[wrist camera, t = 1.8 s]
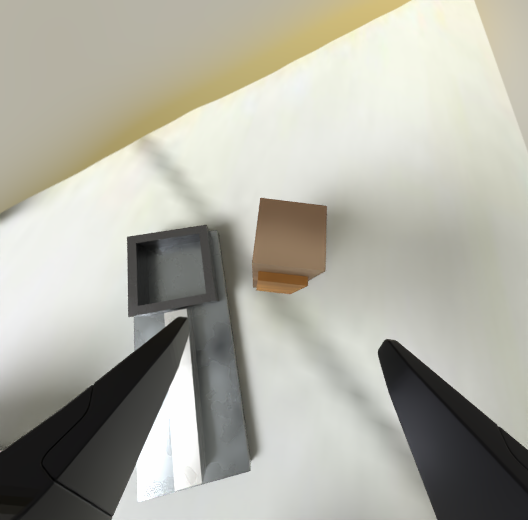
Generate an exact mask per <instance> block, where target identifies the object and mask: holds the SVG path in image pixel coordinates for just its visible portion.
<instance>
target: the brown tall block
mask: <svg viewBox="0 0 528 520" xmlns="http://www.w3.org/2000/svg"><path fill="white" fill-rule="evenodd" d="M326 220H327V206H322V205H314V204H306V203H298V202H290V201H282V200H274V199H266V198H260V205H259V213H258V221H257V228H256V236H255V244H254V252H253V260H252V272H253V287H255V288H257V289H256V290H258V291H267V292H276V293H285V294H292V293H294V292H296V291H298V290H300V289H302V288H304V287H306V286H308V281H309V280H310V279H312V278H314V277H316V276H318V275H319V274H321V273H323V272H325V262H326Z"/></svg>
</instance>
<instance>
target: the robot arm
mask: <svg viewBox="0 0 528 520" xmlns="http://www.w3.org/2000/svg"><path fill="white" fill-rule="evenodd" d="M189 333H190V327H189V319H188V318H187V317H181V316H179V317H177V318H176V319H174V320H173V321H172V322H171V323H169V324H168V325H167V326H166V327H164V328H163V329H162V330H161V331H159V332H158V333H157V334H156V335H154V336H153V337H152V338H151V339H149V340H148V341H147V342H145V343H144V344H143V345H142V346H140V347H139V348H138V349H137V350H135V351H134V352H133V353H132V354H130V355H129V356H128V357H127V358H125V359H124V360H123V361H122V362H120V363H119V364H118V365H116V366H115V367H114V368H113V369H111V370H110V371H109V372H108V373H106V374H105V375H104V376H103V377H101V378H100V379H99V380H98V381H96V382H95V383H94V385H91V386H90V387H89V388H87V389H86V390H85V391H84V392H82V393H81V394H80V395H79V396H77V397H76V398H75V399H73V400H72V401H71V402H69V403H68V404H67V405H66V406H64V407H63V408H62V409H60V410H59V411H58V412H56V413H55V414H53V415H52V416H51V417H49V418H48V419H47V420H45V421H44V422H42V423H41V424H40V425H38V426H37V427H35V428H34V429H33V430H31V431H30V432H28V433H27V434H26V435H24V436H23V437H21V438H20V439H18V440H17V441H16V442H14V443H13V444H11V445H10V446H8V447H7V448H6V449H4V450H3V451H1V452H0V520H112V516H113V515H114V513H115V510H116V508H117V506H118V504H119V501H120V499H121V497H122V494H123V492H124V490H125V488H126V485H127V483H128V481H129V479H130V476H131V474H132V472H133V470H134V467H135V465H136V463H137V461H138V458H139V456H140V454H141V452H142V449H143V447H144V445H145V442H146V440H147V438H148V436H149V433H150V431H151V429H152V427H153V424H154V422H155V420H156V418H157V415H158V413H159V411H160V409H161V406H162V404H163V402H164V400H165V397H166V395H167V393H168V391H169V388H170V386H171V384H172V381H173V379H174V377H175V375H176V372H177V370H178V367H179V364H180V361H181V358H182V355H183V352H184V349H185V346H186V343H187V340H188V337H189ZM378 357H379V360H380V364H381V367H382V371H383V375H384V378H385V382H386V385H387V388H388V391H389V394H390V397H391V400H392V402H393V405H394V408H395V410H396V413H397V415H398V418H399V421H400V423H401V426H402V428H403V431H404V434H405V436H406V439H407V442H408V444H409V447H410V449H411V452H412V455H413V457H414V460H415V462H416V465H417V468H418V470H419V473H420V476H421V478H422V481H423V483H424V486H425V489H426V491H427V494H428V496H429V499H430V502H431V504H432V507H433V509H434V512H435V515H436V517H437V520H528V450H527V449H526V448H525V447H524V446H522V445H521V444H520V443H519V442H517V441H516V440H515V439H514V438H513V437H511V436H510V435H509V434H508V433H507V432H505V431H504V430H503V429H502V428H501V427H499V426H497V424H496V423H495V422H493V421H492V420H491V419H490V418H489V417H487V416H486V415H485V414H484V413H483V412H481V411H480V410H479V409H478V408H477V407H475V406H474V405H473V404H472V403H471V402H469V401H468V400H467V399H466V398H465V397H463V396H462V395H461V394H460V393H459V392H457V391H456V390H455V389H454V388H453V387H451V386H450V385H449V384H448V383H447V382H445V381H444V380H443V379H442V378H441V377H439V376H438V375H437V374H436V373H435V372H433V371H432V370H431V369H430V368H429V367H427V366H426V365H425V364H424V363H423V362H421V361H420V360H419V359H418V358H417V357H415V356H414V355H413V354H412V353H411V352H409V351H408V350H407V349H406V348H405V347H404V346H402V345H401V344H400V343H399V342H397V341H396V340H391V339H386V340H384V342H383V343H382V345H381V346H380V348H379V350H378Z"/></svg>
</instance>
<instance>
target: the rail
mask: <svg viewBox="0 0 528 520" xmlns="http://www.w3.org/2000/svg"><path fill="white" fill-rule="evenodd" d="M127 253H128V317H134V345H135V350H137V349H138V348H139V347H140V346H142V345H143V344H144V343H145V342H147V341H148V340H149V339H151V338H152V337H153V336H154V335H156V334H157V333H158V332H159V331H161V330H162V329H163V328H164V327H166V326H167V325H168V324H169V323H171V322H172V321H173V320H174V319H176V318H177V317H179V316H181V317H187V318H188V319H189V327H190V333H189V337H188V340H187V343H186V346H185V349H184V352H183V355H182V358H181V361H180V364H179V367H178V370H177V372H176V375H175V377H174V379H173V381H172V384H171V386H170V388H169V391H168V393H167V395H166V397H165V400H164V402H163V404H162V406H161V409H160V411H159V413H158V415H157V418H156V420H155V422H154V424H153V427H152V429H151V431H150V433H149V436H148V438H147V440H146V442H145V445H144V447H143V449H142V452H141V454H140V456H139V458H138V461H137V487H138V502H141V501H144V500H148V499H152V498H155V497H159V496H162V495H166V494H170V493H173V492H177V491H180V490H184V489H187V488H191V487H195V486H198V485H202V484H205V483H209V482H213V481H216V480H220V479H223V478H227V477H231V476H234V475H238V474H241V473H245V472H249V471H250V470H251V461H250V453H249V446H248V439H247V432H246V425H245V418H244V411H243V404H242V397H241V390H240V383H239V376H238V369H237V362H236V354H235V347H234V340H233V333H232V326H231V319H230V312H229V305H228V298H227V291H226V284H225V277H224V270H223V263H222V256H221V248H220V241H219V234H218V232H217V230H215V231H209V229H208V227H207V225H203V226H196V227H189V228H183V229H176V230H169V231H163V232H156V233H149V234H143V235H136V236H129V237H127Z"/></svg>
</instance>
